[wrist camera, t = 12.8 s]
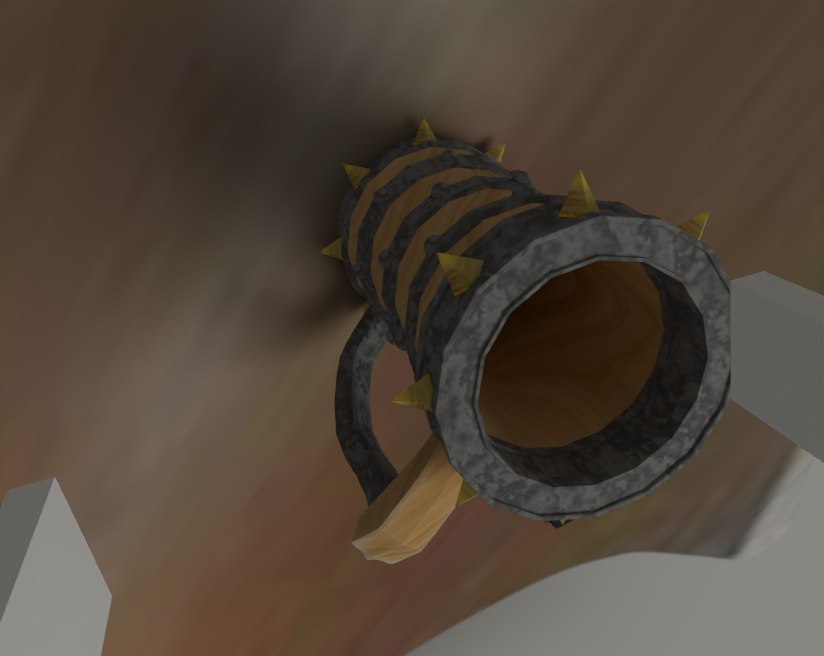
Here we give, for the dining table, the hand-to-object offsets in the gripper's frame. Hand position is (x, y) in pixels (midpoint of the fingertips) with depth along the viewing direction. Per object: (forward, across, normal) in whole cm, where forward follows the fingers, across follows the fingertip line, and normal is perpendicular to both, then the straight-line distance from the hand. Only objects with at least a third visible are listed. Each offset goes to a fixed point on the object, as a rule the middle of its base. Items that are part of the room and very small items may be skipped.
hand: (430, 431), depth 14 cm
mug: (+27, +5, -6) cm, 28 cm away
